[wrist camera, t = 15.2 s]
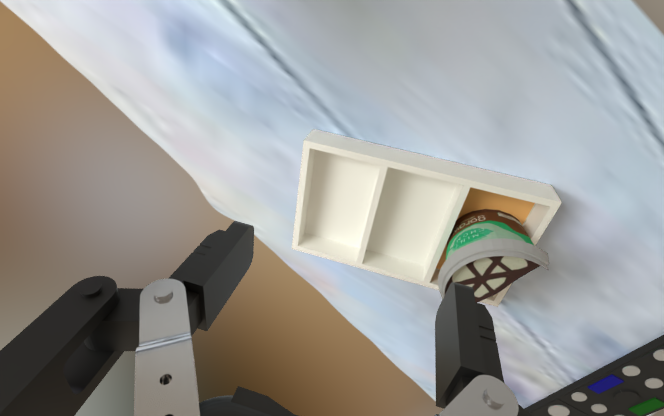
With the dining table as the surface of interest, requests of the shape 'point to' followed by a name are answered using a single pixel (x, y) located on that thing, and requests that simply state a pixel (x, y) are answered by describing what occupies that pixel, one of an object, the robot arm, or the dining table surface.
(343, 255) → the cream compartment tray
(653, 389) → the remote control
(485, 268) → the food container
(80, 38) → the dining table surface
